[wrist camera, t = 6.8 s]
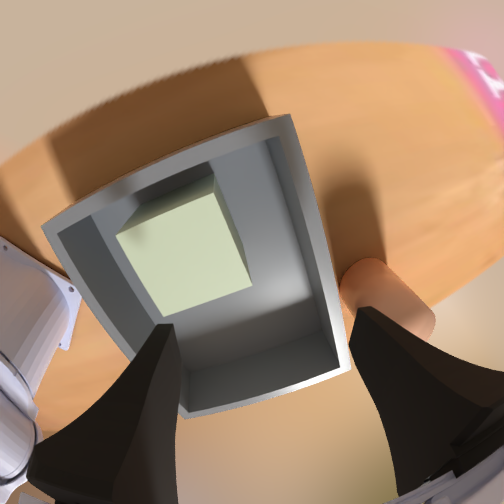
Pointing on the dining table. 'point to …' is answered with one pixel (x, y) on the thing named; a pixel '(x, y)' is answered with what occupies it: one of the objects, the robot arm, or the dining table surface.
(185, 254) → the green block
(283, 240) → the tote
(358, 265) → the terracotta cylinder
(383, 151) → the dining table surface
